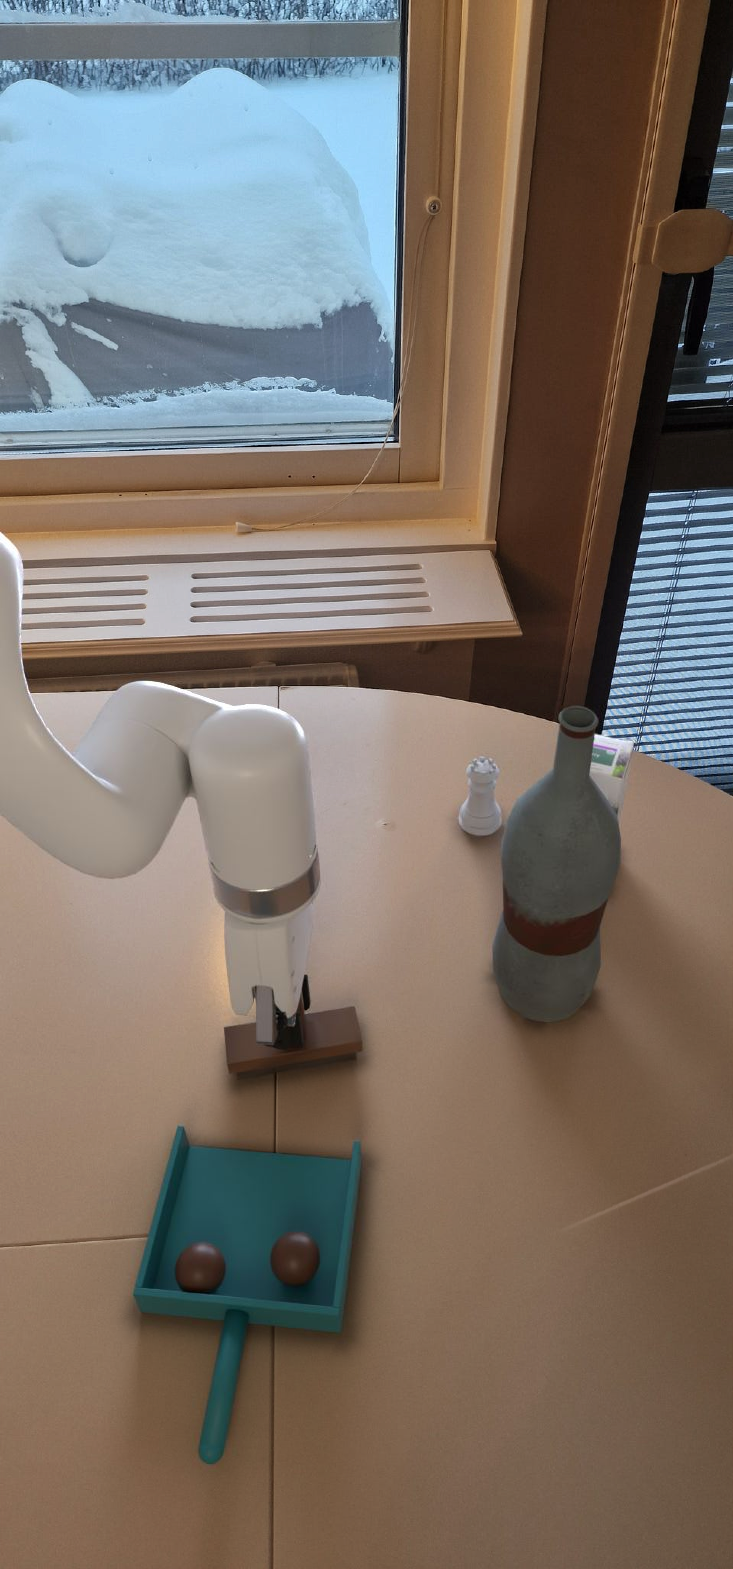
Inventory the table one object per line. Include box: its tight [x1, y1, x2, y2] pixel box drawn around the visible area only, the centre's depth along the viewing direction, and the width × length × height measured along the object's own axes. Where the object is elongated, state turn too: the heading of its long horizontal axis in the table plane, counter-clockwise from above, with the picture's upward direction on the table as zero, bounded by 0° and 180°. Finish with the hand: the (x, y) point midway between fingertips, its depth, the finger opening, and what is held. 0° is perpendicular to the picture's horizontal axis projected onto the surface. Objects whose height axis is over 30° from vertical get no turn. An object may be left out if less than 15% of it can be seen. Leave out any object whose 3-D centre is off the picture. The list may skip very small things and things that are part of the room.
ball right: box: [270, 1231, 320, 1286], centre depth 72 cm, size 4×4×4 cm
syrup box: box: [589, 733, 635, 824], centre depth 97 cm, size 6×6×14 cm
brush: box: [223, 989, 364, 1081], centre depth 83 cm, size 11×4×10 cm, turn 100°
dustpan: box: [132, 1125, 363, 1466], centre depth 71 cm, size 21×14×3 cm, turn 174°
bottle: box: [491, 705, 622, 1023], centre depth 81 cm, size 9×9×30 cm
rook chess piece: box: [457, 755, 503, 837], centre depth 104 cm, size 4×4×8 cm
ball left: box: [175, 1242, 226, 1295], centre depth 72 cm, size 4×4×4 cm
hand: (287, 1023), depth 84 cm, fingers open, 3 cm apart
